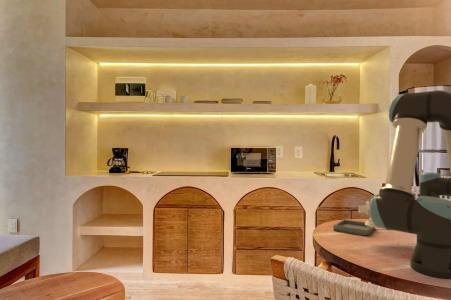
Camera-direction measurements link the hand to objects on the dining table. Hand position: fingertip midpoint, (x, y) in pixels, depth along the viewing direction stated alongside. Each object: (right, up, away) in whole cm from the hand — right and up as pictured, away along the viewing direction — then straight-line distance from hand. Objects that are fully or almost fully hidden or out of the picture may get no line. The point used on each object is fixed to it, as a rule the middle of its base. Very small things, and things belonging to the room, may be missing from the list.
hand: (362, 210), depth 141 cm
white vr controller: (+5, -6, +1) cm, 8 cm away
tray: (+5, -13, +21) cm, 25 cm away
